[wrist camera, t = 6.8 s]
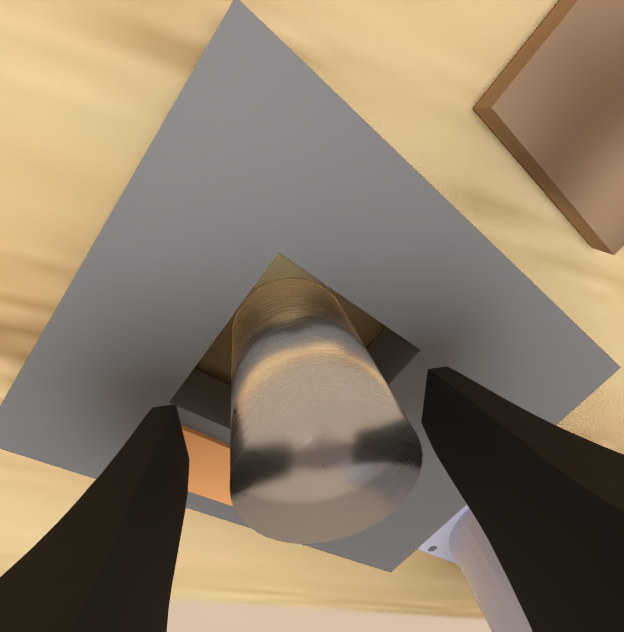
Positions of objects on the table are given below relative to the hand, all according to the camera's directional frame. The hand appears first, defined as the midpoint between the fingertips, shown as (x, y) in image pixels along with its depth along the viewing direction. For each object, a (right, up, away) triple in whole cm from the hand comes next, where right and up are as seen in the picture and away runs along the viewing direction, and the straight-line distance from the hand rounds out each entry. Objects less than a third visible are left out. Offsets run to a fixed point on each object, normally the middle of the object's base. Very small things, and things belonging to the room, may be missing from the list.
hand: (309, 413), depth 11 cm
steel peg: (-1, +2, +4) cm, 4 cm away
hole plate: (+1, +1, +5) cm, 5 cm away
